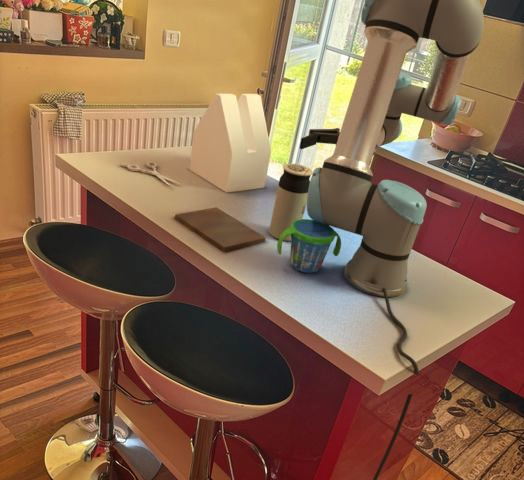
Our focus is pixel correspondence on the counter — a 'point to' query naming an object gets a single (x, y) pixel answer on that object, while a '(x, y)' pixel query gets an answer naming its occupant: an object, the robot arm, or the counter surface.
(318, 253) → the snack cup
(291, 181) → the travel mug
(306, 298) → the counter surface
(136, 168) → the scissors
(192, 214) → the walnut board
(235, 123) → the white slotted tapered block
